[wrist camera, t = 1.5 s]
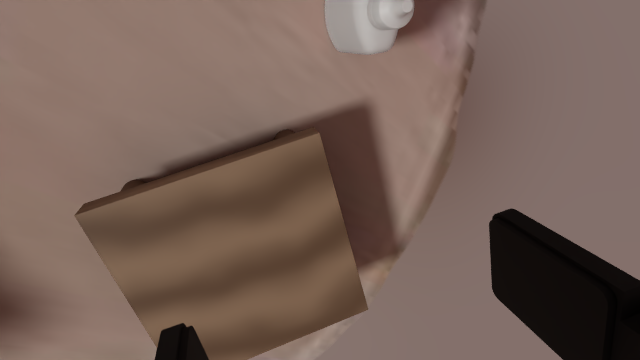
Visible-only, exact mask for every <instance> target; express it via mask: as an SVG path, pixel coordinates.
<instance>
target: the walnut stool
mask: <svg viewBox="0 0 640 360" xmlns="http://www.w3.org/2000/svg"><path fill="white" fill-rule="evenodd" d="M74 216H75V217H76V219H77V221H78V222H79V224H80V225H81V227H82V229H83V230H84V232H85V233H86V235H87V237H88V238H89V240H90V241H91V243H92V245H93V246H94V248H95V249H96V251H97V253H98V254H99V256H100V257H101V259H102V261H103V262H104V264H105V265H106V267H107V269H108V270H109V272H110V273H111V275H112V277H113V278H114V280H115V281H116V283H117V285H118V286H119V288H120V289H121V291H122V293H123V294H124V296H125V297H126V299H127V301H128V302H129V304H130V305H131V307H132V309H133V310H134V312H135V313H136V315H137V317H138V318H139V320H140V321H141V323H142V324H143V326H144V328H145V329H146V331H147V332H148V334H149V336H150V337H151V339H152V340H153V342H154V344H155V345H156V347H158V342H159V338H160V333H161V331H162V330H163V329H166V328H169V327H172V326H175V325H178V324H181V323H184V324H185V325H186V327H188V326H193V327H194V329H195V331H196V333H197V335H198V337H199V339H200V342H201V344H202V346H203V348H204V350H205V352H206V354H207V356H208V358H209V360H247V359H249V358H252V357H254V356H257V355H259V354H262V353H264V352H266V351H269V350H271V349H274V348H276V347H279V346H281V345H283V344H286V343H288V342H291V341H293V340H296V339H298V338H300V337H303V336H305V335H308V334H310V333H313V332H315V331H317V330H320V329H322V328H325V327H327V326H330V325H332V324H334V323H337V322H339V321H342V320H344V319H347V318H349V317H351V316H354V315H356V314H359V313H361V312H364V311H366V310H368V307H367V303H366V300H365V296H364V292H363V289H362V285H361V282H360V278H359V274H358V271H357V267H356V263H355V260H354V256H353V253H352V249H351V245H350V242H349V238H348V234H347V231H346V227H345V224H344V220H343V216H342V213H341V209H340V205H339V202H338V198H337V195H336V191H335V187H334V184H333V180H332V176H331V173H330V169H329V166H328V162H327V158H326V155H325V151H324V147H323V144H322V140H321V137H320V133H319V132H318V131H317V130H316V129H315V128H314V127H312V128H309V129H306V130H303V131H300V132H297V133H295V132H293V131H291V130H282V131H280V132H279V133H278V134H277V135H276V136H275V138H274V140H273V141H270V142H267V143H264V144H261V145H258V146H255V147H252V148H249V149H246V150H243V151H240V152H237V153H234V154H231V155H228V156H225V157H222V158H219V159H216V160H214V161H211V162H208V163H205V164H202V165H199V166H196V167H193V168H190V169H187V170H184V171H181V172H178V173H175V174H172V175H169V176H166V177H163V178H160V179H157V180H154V181H151V182H148V183H145V182H143V181H141V180H132V181H129V182H127V183H126V184H125V185H124V187H123V188H122V190H121V191H120V192H118V193H115V194H112V195H109V196H106V197H103V198H100V199H97V200H94V201H91V202H88V203H85V204H83V206H82V207H81V208H80V209H79V211H78V212H77V213H76V214H75V215H74Z"/></svg>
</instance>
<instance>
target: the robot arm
mask: <svg viewBox="0 0 640 360" xmlns="http://www.w3.org/2000/svg"><path fill="white" fill-rule="evenodd" d="M489 232H490V254H491V275H492V289H493V292H494V294H495V296H496V297H497V298H498V299H499V300H500V301H501V302H502V303H503V304H504V305H505V306H506V307H507V308H508V309H509V310H510V311H512V312H513V313H514V314H515V315H516V316H517V317H518V318H519V319H520V320H521V321H522V322H523V323H524V324H525V325H526V326H528V327H529V328H530V329H531V330H532V331H533V332H534V333H535V334H536V335H537V336H538V337H539V338H541V339H542V340H543V341H544V342H545V343H546V344H547V345H548V346H549V347H550V348H551V349H552V350H553V351H554V352H555V353H557V354H558V355H559V356H560V357H561V358H562V359H563V360H640V280H638V279H636V278H634V277H632V276H631V275H629V274H627V273H626V272H624V271H622V270H620V269H619V268H617V267H615V266H613V265H612V264H609V263H608V262H606V261H605V260H603V259H601V258H599V257H598V256H596V255H594V254H592V253H591V252H589V251H587V250H585V249H584V248H582V247H580V246H578V245H577V244H575V243H573V242H571V241H570V240H568V239H566V238H564V237H563V236H561V235H559V234H557V233H556V232H554V231H552V230H550V229H548V228H547V227H545V226H543V225H542V224H540V223H538V222H536V221H535V220H533V219H531V218H529V217H528V216H526V215H524V214H522V213H521V212H519V211H517V210H515V209H508V210H505V211H503V212H500V213H497V214H495V215H494V216H493V218H492V220H491V221H490V223H489ZM155 360H209V358H208V356H207V354H206V352H205V350H204V348H203V346H202V344H201V342H200V339H199V337H198V335H197V333H196V331H195V329H194V327H193V326H188V327H186V325H185V324H184V323H181V324H178V325H175V326H172V327H169V328H166V329H163V330H162V331H161V333H160V338H159V342H158V347H157V352H156V357H155Z"/></svg>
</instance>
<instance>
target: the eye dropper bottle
mask: <svg viewBox="0 0 640 360" xmlns="http://www.w3.org/2000/svg"><path fill="white" fill-rule="evenodd" d="M414 7H415V6H414V0H325V21H326V26H327V30H328V33H329V36H330V39H331V41H332V43H333V45H334V46H335V48H336V49H337V50H338V51H339V52H344V53H354V54H365V55H371V54H377V53H382V52H386V51H388V50H390V49H391V48H392V47H393V45H394V42H395V40H396V37H397V33H398V29H399V28H402V27H404V26H406V24H407V23H409V21H410V19H411V18H412V16H413V13H414V9H415V8H414Z"/></svg>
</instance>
